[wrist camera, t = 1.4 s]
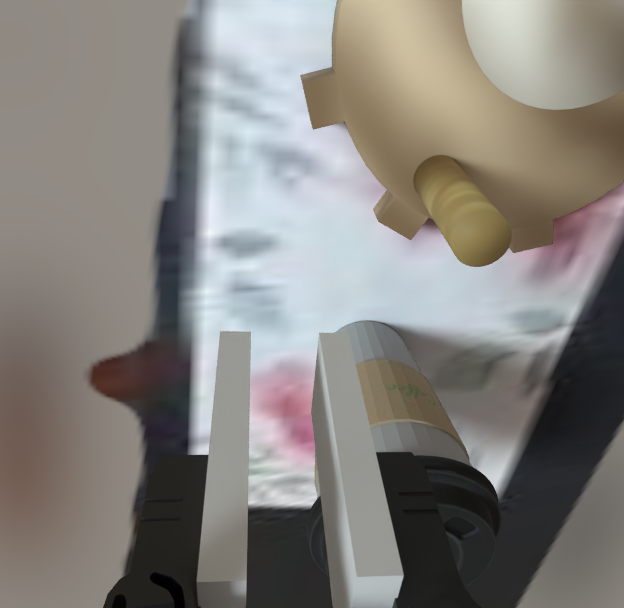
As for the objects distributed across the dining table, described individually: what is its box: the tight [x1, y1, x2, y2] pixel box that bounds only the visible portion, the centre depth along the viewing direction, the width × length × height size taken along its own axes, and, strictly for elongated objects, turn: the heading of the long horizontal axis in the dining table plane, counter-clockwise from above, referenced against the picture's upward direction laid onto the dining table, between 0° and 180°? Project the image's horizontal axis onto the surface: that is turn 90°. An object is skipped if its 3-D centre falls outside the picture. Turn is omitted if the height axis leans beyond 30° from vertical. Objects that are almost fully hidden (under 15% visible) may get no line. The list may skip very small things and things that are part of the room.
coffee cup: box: [306, 321, 501, 587], centre depth 32 cm, size 9×9×15 cm
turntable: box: [300, 0, 624, 267], centre depth 24 cm, size 21×21×9 cm
